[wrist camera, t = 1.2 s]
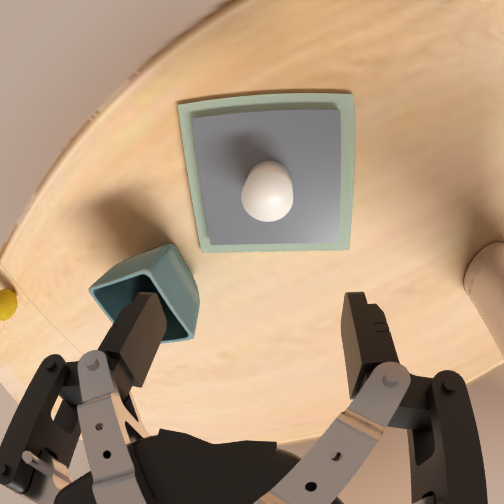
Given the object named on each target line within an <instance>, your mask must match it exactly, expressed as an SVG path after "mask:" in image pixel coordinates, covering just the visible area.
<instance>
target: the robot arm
mask: <svg viewBox="0 0 504 504" xmlns="http://www.w3.org/2000/svg"><path fill="white" fill-rule="evenodd" d="M464 288H465V291H466V293H467V294H468V296H469V298H470V299H471V301H472V302H473V304H474V305H475V307H476V309H477V311H478V312H479V314H480V316H481V317H482V319H483V321H484V322H485V324H486V326H487V328H488V329H489V331H490V333H491V335H492V336H493V338H494V340H495V342H496V344H497V346H498V348H499V350H500V352H501V354H502V355H503V357H504V243H502V242H495V243H491V244H489V245H487V246H486V247H484V248H483V249H482V250H481V251H480V252H479V253H478V254H477V255H476V256H475V257H474V259H473V260H472V261H471V263H470V265H469V266H468V269H467V271H466V274H465V278H464ZM116 319H117V320H115V321H114V323H113V326H112V327H111V328H110V330H109V331H108V333H107V335H106V336H105V338H104V340H103V341H102V343H101V345H100V346H99V348H98V350H93V351H90V352H87V353H86V354H84V355H83V356H82V357H81V359H80V360H79V361H76V362H65V360H64V359H63V358H62V357H61V356H60V355H58V354H53V355H50V356H48V357H46V358H45V359H44V360H43V361H42V363H41V365H40V366H39V368H38V370H37V372H36V373H35V375H34V377H33V379H32V381H31V383H30V384H29V386H28V388H27V390H26V392H25V394H24V396H23V398H22V400H21V402H20V404H19V406H18V408H17V410H16V412H15V414H14V416H13V418H12V421H11V423H10V425H9V427H8V429H7V432H6V434H5V437H4V439H3V441H2V444H1V446H0V484H2V485H4V486H6V487H7V488H10V489H11V490H13V491H14V492H15V493H17V494H19V495H21V496H23V497H25V498H27V499H29V500H31V501H34V502H36V503H37V504H344V503H343V502H342V501H341V500H340V499H339V498H338V497H337V496H338V495H339V493H340V492H341V491H342V490H343V489H344V487H345V486H346V485H347V483H348V482H349V481H350V480H351V478H352V477H353V476H354V475H355V473H356V472H357V471H358V469H359V468H360V466H361V465H362V464H363V462H364V461H365V460H366V458H367V457H368V455H369V454H370V452H371V451H372V449H373V448H374V446H375V445H376V443H377V442H378V440H379V439H380V437H381V435H382V434H383V431H384V430H385V428H386V426H390V427H396V428H403V429H407V434H408V443H409V455H410V468H411V491H412V504H488V501H487V488H486V479H485V470H484V463H483V457H482V452H481V446H480V440H479V435H478V431H477V426H476V422H475V418H474V413H473V410H472V406H471V402H470V398H469V395H468V391H467V388H466V385H465V382H464V380H463V378H462V377H461V376H460V375H459V374H458V373H456V372H454V371H451V370H444V371H441V372H439V373H437V374H436V375H435V377H434V378H427V377H420V376H415V375H412V374H410V373H409V372H408V370H407V369H406V368H405V367H404V366H403V365H401V364H400V363H399V360H398V356H397V353H396V350H395V346H394V343H393V340H392V336H391V333H390V332H389V327H388V324H387V321H386V318H385V315H384V312H383V311H382V310H381V309H380V308H379V306H378V305H377V304H367V300H366V297H365V294H364V292H347V293H345V296H344V304H343V311H342V318H341V335H342V342H343V349H344V355H345V363H346V370H347V378H348V386H349V395H350V399H354V400H353V401H352V403H351V404H350V405H349V407H348V408H347V409H346V410H345V411H344V412H342V413H341V414H340V415H339V416H338V417H337V418H336V419H335V420H334V422H333V423H332V424H331V425H330V427H329V428H328V429H327V430H326V432H325V433H324V434H323V435H322V436H321V438H320V439H319V440H318V441H317V442H316V443H315V445H314V446H313V447H312V448H311V449H310V450H309V451H308V453H307V454H306V455H305V456H304V457H303V458H302V459H301V458H300V457H298V456H296V455H294V454H292V453H290V452H288V451H285V450H282V449H278V448H277V442H267V441H247V440H245V441H238V442H231V443H222V444H211V443H209V442H206V441H203V440H201V439H198V438H196V437H193V436H191V435H189V434H186V433H181V432H175V431H170V430H165V429H160V430H159V433H158V435H155V436H149V434H148V433H147V431H146V429H145V428H144V426H143V423H142V421H141V418H140V415H139V413H138V410H137V407H136V404H135V401H134V398H133V395H132V393H131V392H130V390H131V387H132V386H136V387H141V388H142V386H143V383H144V381H145V378H146V376H147V373H148V371H149V369H150V366H151V364H152V362H153V359H154V357H155V354H156V352H157V350H158V347H159V345H160V343H161V340H162V338H163V336H164V334H165V331H166V327H167V321H166V317H165V314H164V312H163V309H162V306H161V303H160V301H159V298H158V295H157V294H156V293H146V292H140V293H138V294H137V296H136V298H135V299H134V301H133V302H132V303H129V304H128V305H127V306H126V307H124V308H123V309H122V310H121V312H120V313H119V315H118V316H117V318H116ZM58 395H59V396H60V397H61V398H62V399H63V400H62V403H61V405H60V407H59V409H58V412H57V414H56V416H55V418H54V421H53V420H52V418H51V410H52V408H53V406H54V404H55V401H56V399H57V397H58ZM81 433H82V437H83V442H84V446H85V450H86V454H87V458H88V462H89V465H90V469H91V471H90V472H88V473H87V474H85V475H84V476H82V477H80V478H78V479H77V480H75V481H74V482H73V480H72V478H71V477H70V475H69V471H68V468H69V465H70V462H71V459H72V456H73V453H74V450H75V448H76V445H77V442H78V439H79V436H80V434H81Z"/></svg>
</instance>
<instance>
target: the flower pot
mask: <svg viewBox="0 0 504 504" xmlns="http://www.w3.org/2000/svg"><path fill="white" fill-rule="evenodd" d="M89 292H90V294H91V295H92V297H93V298H94V300H95V301H96V302H97V303H98V305H99V306H100V307H101V309H102V310H103V311H104V313H105V314H106V315H107V317H108V318H109V319H110V320H111V322H112V323H114V321H115V320H117V319H116V318H117V316H118V315H119V313H120V312H121V310H122V309H123V308H124V307H126V306H127V305H128V304H129V303H132V302H133V301H134V299H135V298H136V296H137V294H138V293H140V292H146V293H156V294H157V295H158V298H159V301H160V303H161V306H162V309H163V312H164V314H165V317H166V321H167V327H166V331H165V334H164V336H163V338H162V340H161V343H160V344H162V343H169V342H178V341H185V340H190V339H193V338H194V334H195V329H196V323H197V318H198V312H199V304H200V300H199V292H198V288H197V285H196V282H195V280H194V277H193V275H192V273H191V272H190V270H189V268H188V266H187V265H186V263H185V261H184V260H183V258H182V256H181V254H180V253H179V251H178V249H177V247H176V246H175V245H174V244H165V245H163V246H160V247H157V248H155V249H152V250H149V251H147V252H144V253H141V254H139V255H136V256H133V257H130V258H128V259H125V260H123V261H121V262H120V263H118V264H116V265H115V266H113V267H112V268H111V269H110V270H109V271H107V272H106V273H105V274H104V275H103V276H102V277H101V278H99V279H98V280H97V281H96V282H95V283H94V284H93V285H92V286H91V287H90V288H89Z"/></svg>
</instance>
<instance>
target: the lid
mask: <svg viewBox="0 0 504 504" xmlns="http://www.w3.org/2000/svg"><path fill="white" fill-rule="evenodd" d="M192 127H193V134H194V142H195V149H196V156H197V163H198V170H199V177H200V183H201V190H202V196H203V203H204V209H205V215H206V221H207V227H208V233H209V239H210V244H211V245H242V244H290V243H338V232H339V214H340V189H341V114H340V110H338V109H285V110H264V111H249V112H238V113H227V114H218V115H210V116H202V117H195V118H192Z"/></svg>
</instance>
